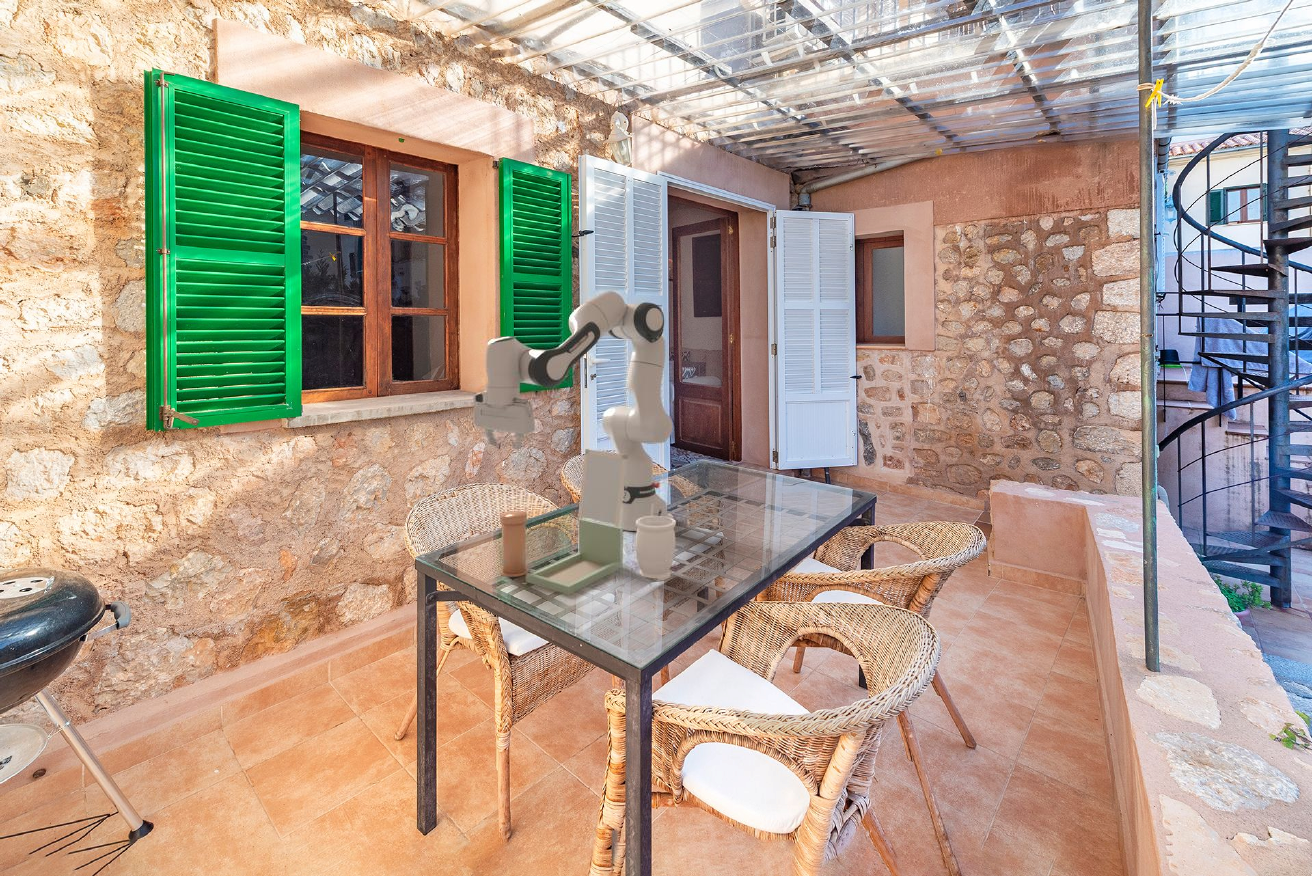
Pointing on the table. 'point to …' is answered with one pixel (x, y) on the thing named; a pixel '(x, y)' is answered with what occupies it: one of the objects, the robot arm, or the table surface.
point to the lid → (602, 486)
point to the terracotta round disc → (513, 574)
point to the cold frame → (584, 559)
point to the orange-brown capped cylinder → (514, 541)
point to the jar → (655, 546)
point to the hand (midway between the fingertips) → (504, 447)
